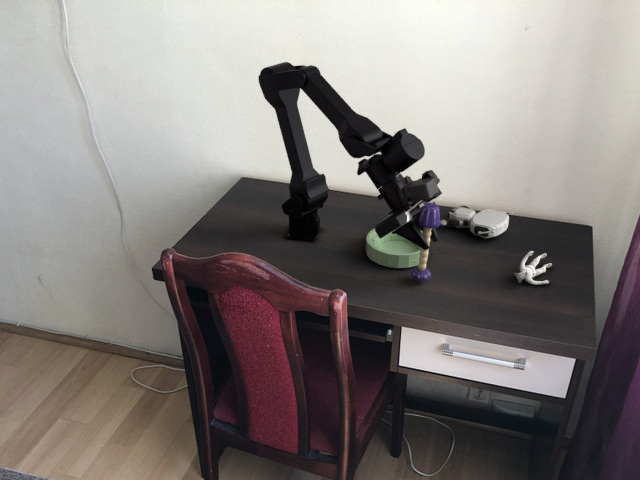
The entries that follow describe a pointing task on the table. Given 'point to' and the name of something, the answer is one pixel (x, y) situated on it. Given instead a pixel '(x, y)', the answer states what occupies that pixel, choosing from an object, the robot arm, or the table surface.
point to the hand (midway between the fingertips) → (432, 245)
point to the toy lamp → (428, 221)
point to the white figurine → (532, 270)
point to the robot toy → (478, 221)
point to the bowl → (392, 250)
